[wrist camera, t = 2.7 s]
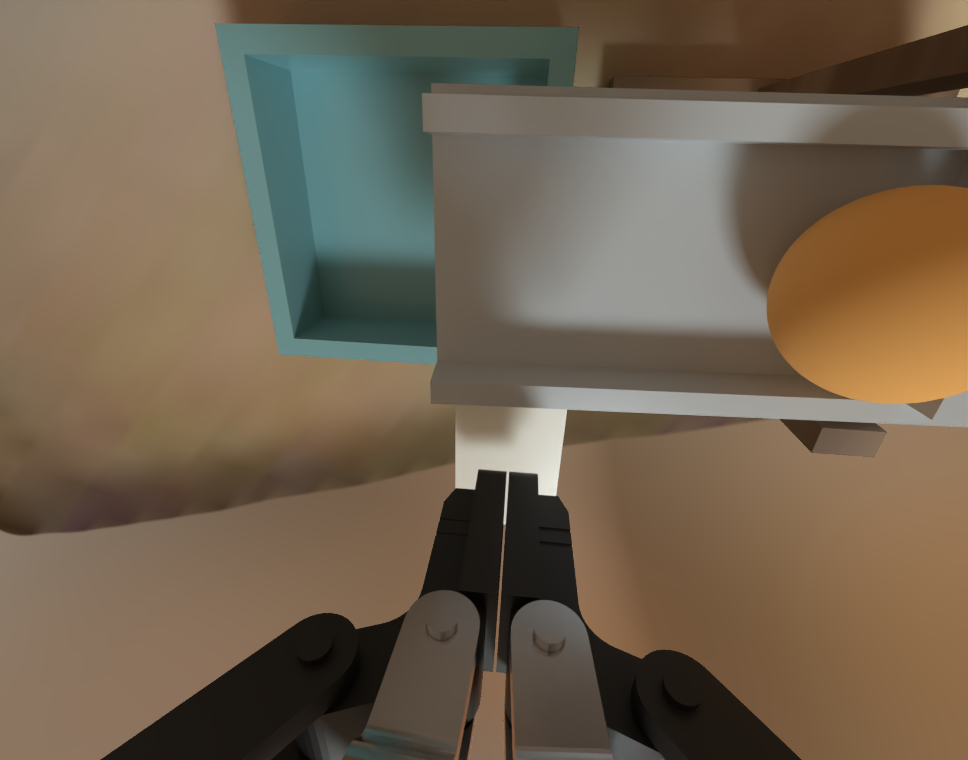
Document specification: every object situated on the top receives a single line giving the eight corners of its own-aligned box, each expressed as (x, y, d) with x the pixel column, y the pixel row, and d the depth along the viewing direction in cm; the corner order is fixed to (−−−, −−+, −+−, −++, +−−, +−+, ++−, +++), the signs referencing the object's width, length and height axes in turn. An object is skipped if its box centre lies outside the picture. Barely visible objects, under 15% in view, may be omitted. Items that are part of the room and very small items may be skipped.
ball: (756, 176, 9) (965, 191, 6) (927, 181, 10) (1221, 197, 6) (707, 355, 11) (841, 452, 7) (853, 352, 11) (1046, 441, 8)
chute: (945, 129, 16) (1530, 93, 7) (823, 411, 21) (1064, 602, 12) (463, 115, 16) (412, 63, 7) (461, 395, 21) (431, 569, 12)
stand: (939, 86, 16) (1466, -6, 7) (835, 338, 21) (1078, 482, 12) (610, 80, 17) (703, -10, 8) (578, 324, 22) (614, 447, 13)
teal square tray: (277, 50, 18) (214, 23, 14) (568, 54, 17) (578, 26, 14) (317, 324, 23) (279, 354, 20) (542, 337, 22) (544, 371, 19)
